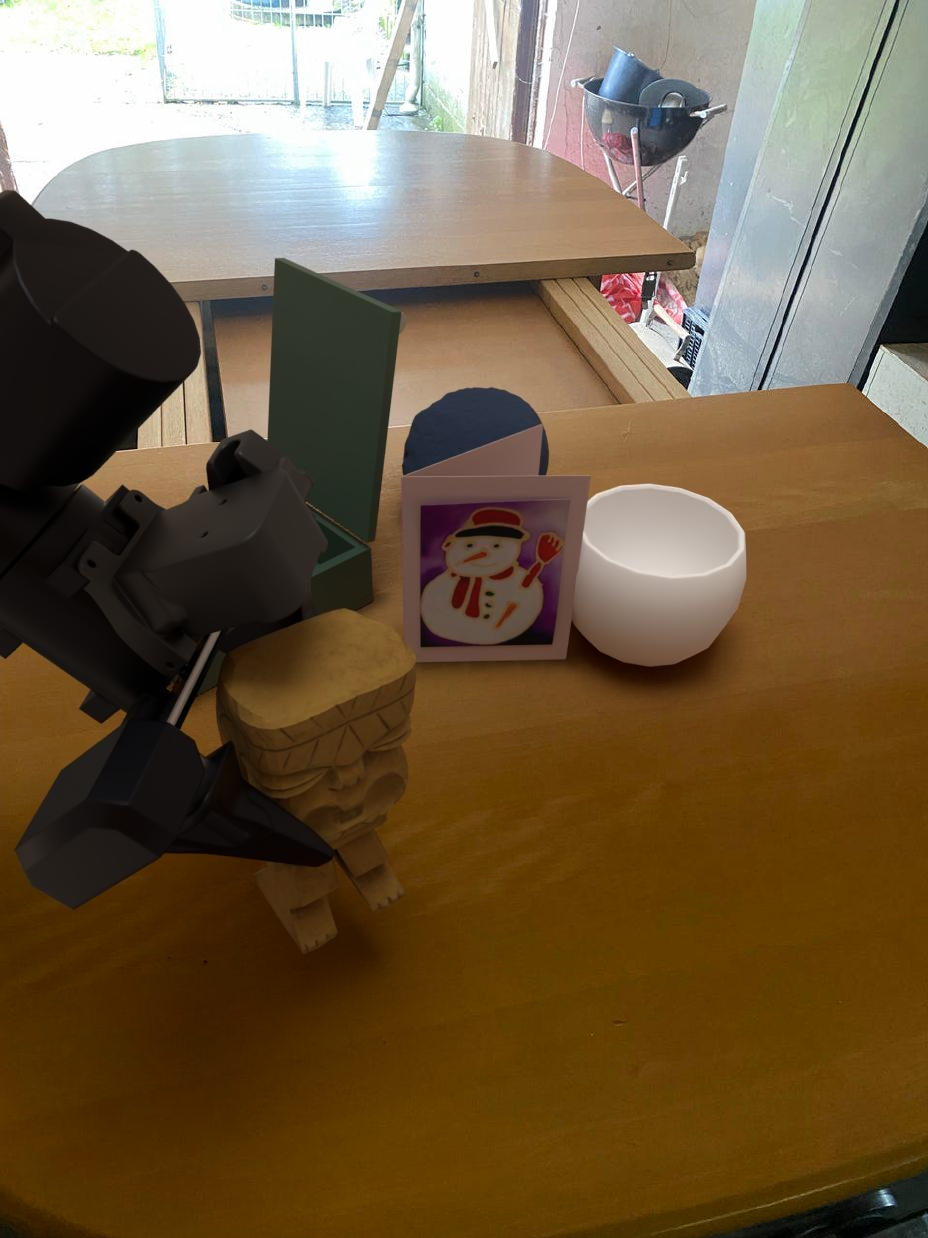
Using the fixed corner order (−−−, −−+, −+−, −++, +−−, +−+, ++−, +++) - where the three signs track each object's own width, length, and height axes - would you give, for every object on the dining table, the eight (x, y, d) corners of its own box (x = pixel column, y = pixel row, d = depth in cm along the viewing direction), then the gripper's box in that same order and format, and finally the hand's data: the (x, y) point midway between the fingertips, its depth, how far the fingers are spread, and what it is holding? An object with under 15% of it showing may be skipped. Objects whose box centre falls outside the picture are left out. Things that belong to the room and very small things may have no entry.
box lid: (392, 311, 57) (443, 307, 60) (274, 257, 64) (325, 255, 67) (366, 543, 66) (412, 529, 68) (265, 474, 72) (311, 464, 75)
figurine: (292, 972, 40) (258, 738, 31) (228, 867, 44) (181, 631, 35) (424, 895, 44) (431, 662, 34) (354, 804, 48) (342, 572, 38)
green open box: (191, 699, 61) (178, 642, 58) (100, 609, 68) (84, 554, 65) (373, 601, 69) (371, 547, 66) (276, 530, 76) (270, 478, 73)
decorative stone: (435, 468, 85) (436, 366, 78) (559, 496, 81) (571, 392, 75) (381, 534, 76) (377, 426, 70) (517, 569, 73) (526, 458, 67)
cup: (550, 582, 72) (562, 475, 66) (708, 589, 72) (735, 482, 66) (558, 693, 62) (572, 580, 56) (739, 701, 62) (774, 588, 56)
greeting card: (404, 671, 64) (401, 484, 54) (403, 603, 69) (400, 423, 60) (567, 667, 64) (593, 483, 55) (553, 601, 70) (574, 423, 60)
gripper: (8, 596, 21) (461, 919, 28) (245, 300, 36) (508, 558, 42) (-176, 780, 27) (237, 1013, 33) (93, 460, 41) (345, 666, 48)
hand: (347, 782), depth 39 cm, fingers closed on figurine, 7 cm apart
